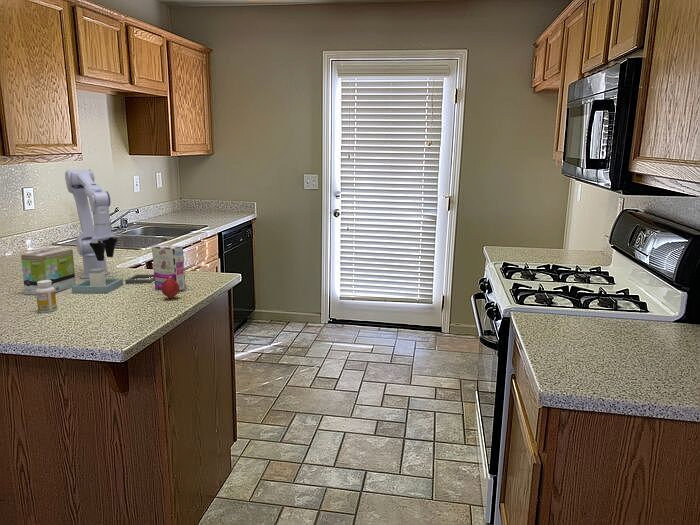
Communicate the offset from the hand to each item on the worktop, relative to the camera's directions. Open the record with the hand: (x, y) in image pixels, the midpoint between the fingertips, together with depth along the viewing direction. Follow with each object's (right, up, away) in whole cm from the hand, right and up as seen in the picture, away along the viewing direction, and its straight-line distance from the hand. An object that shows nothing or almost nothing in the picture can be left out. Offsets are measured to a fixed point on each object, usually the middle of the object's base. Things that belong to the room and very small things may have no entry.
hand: (105, 258), depth 210 cm
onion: (+32, -14, -21) cm, 41 cm away
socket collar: (+12, -9, +6) cm, 16 cm away
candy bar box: (+28, -12, -8) cm, 31 cm away
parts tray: (0, -11, -6) cm, 13 cm away
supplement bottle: (-3, -17, -34) cm, 38 cm away
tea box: (-17, -12, -7) cm, 22 cm away
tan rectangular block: (0, -11, -7) cm, 13 cm away
